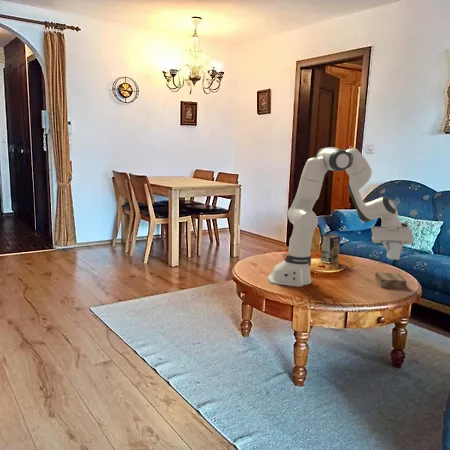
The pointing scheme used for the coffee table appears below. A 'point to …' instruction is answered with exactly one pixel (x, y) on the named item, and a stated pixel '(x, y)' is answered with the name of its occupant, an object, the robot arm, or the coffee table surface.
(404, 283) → the walnut plinth
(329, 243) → the coffee box
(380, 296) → the coffee table surface
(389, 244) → the light grey block
